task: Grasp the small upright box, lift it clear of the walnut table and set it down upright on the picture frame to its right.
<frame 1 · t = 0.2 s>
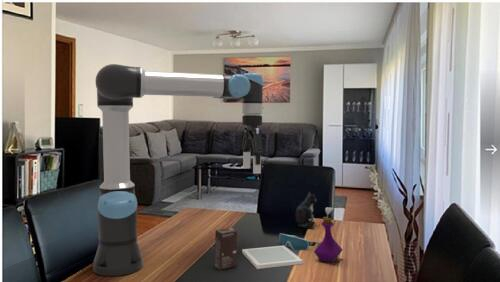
hand: (251, 170, 159), 28 cm above the table, fingers open, 13 cm apart
sunglasses: (299, 245, 160), on the table
perfume bottle: (328, 260, 143), on the table
figurine: (306, 227, 183), on the table
picture frame: (271, 258, 144), on the table
box: (225, 267, 135), on the table
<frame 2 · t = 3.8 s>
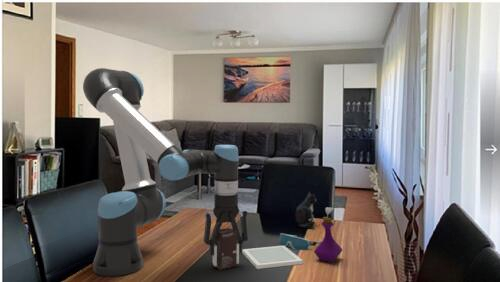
hand: (225, 263, 135), 1 cm above the table, fingers closed on box, 7 cm apart
box: (225, 267, 135), on the table, touching gripper
everything else where it was.
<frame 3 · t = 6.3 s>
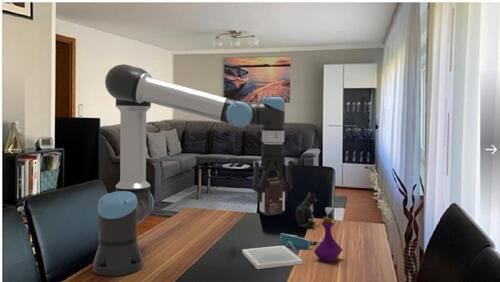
hand: (272, 210, 142), 17 cm above the table, fingers closed on box, 7 cm apart
box: (272, 214, 142), point 15 cm above the table, touching gripper
everything else where it was.
when the fingers open (4 cm above the table, at t = 8.9 s): box drops 2 cm, resting on picture frame.
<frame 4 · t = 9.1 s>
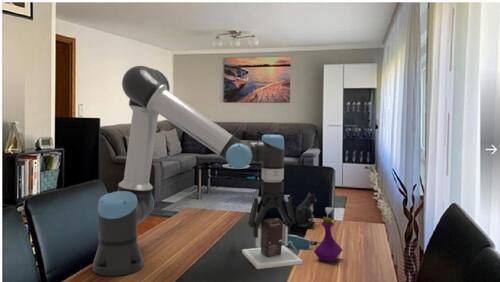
hand: (271, 245, 143), 5 cm above the table, fingers open, 9 cm apart
box: (271, 254, 143), point 1 cm above the table, touching picture frame
everything else where it was.
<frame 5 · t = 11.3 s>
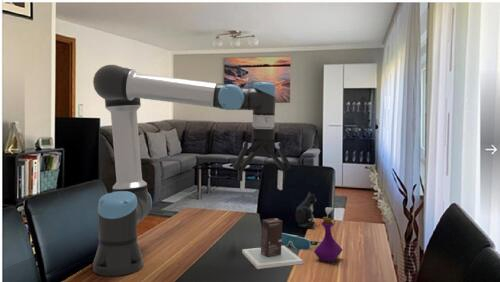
hand: (261, 189, 144), 23 cm above the table, fingers open, 13 cm apart
nothing on the table moved.
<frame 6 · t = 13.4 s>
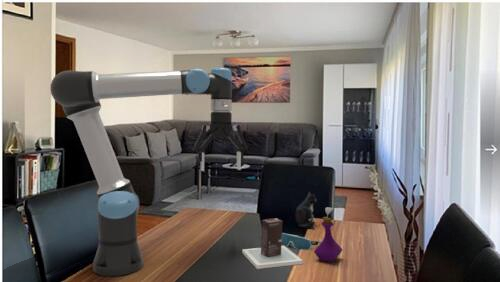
hand: (220, 170, 152), 29 cm above the table, fingers open, 13 cm apart
at the end: box inside the target area on the picture frame (0.0 cm from its centre), point 1.1 cm above the picture frame's base; box tilted 0°; the gripper is holding nothing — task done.
